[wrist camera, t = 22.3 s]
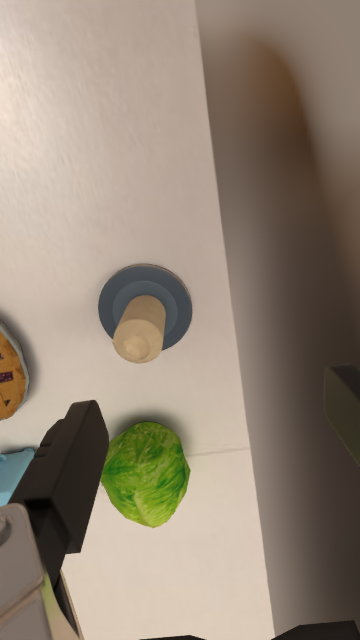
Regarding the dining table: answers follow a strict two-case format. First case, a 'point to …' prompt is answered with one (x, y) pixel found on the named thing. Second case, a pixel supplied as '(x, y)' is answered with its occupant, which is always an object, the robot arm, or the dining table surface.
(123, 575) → the dining table surface
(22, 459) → the teapot
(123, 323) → the candle
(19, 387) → the pie
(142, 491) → the lettuce
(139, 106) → the dining table surface
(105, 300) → the saucer
